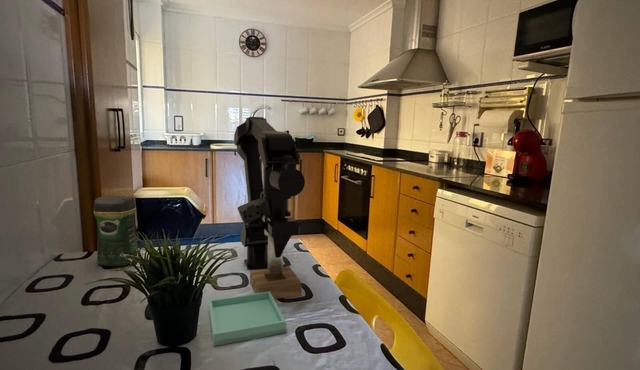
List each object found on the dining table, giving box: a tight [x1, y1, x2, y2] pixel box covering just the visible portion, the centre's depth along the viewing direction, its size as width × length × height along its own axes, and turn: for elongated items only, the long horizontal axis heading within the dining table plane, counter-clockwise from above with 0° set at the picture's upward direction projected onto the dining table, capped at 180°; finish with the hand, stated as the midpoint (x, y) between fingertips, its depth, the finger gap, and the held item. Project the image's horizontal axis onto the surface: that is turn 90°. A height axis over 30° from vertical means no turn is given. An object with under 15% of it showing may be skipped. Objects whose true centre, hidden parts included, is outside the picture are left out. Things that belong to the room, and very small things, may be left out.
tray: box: [207, 291, 287, 347], centre depth 69 cm, size 13×13×2 cm
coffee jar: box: [93, 195, 139, 267], centre depth 95 cm, size 10×8×19 cm
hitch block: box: [249, 266, 302, 300], centre depth 83 cm, size 10×10×3 cm
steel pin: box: [264, 227, 284, 273], centre depth 82 cm, size 5×5×10 cm
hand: (275, 254), depth 82 cm, fingers closed on steel pin, 4 cm apart
